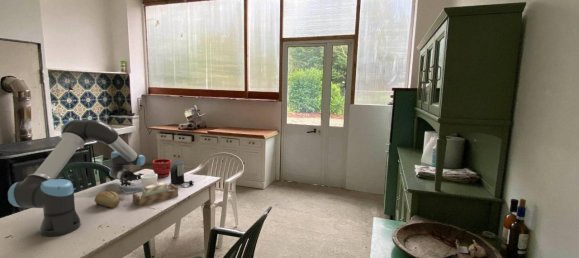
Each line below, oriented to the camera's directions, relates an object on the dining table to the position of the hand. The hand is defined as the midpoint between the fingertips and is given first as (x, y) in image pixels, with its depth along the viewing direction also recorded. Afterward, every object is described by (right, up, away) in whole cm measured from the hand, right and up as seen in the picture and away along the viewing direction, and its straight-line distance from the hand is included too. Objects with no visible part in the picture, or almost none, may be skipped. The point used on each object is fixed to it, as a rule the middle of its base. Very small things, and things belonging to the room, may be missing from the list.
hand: (144, 182), depth 184 cm
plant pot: (-5, -2, +37) cm, 37 cm away
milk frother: (+17, -5, +20) cm, 27 cm away
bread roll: (-12, -10, -18) cm, 24 cm away
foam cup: (+5, -8, -3) cm, 10 cm away
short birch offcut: (+12, -3, -10) cm, 15 cm away
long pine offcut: (+12, -7, -9) cm, 16 cm away
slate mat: (-10, -6, +9) cm, 15 cm away
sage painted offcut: (+12, -5, -9) cm, 16 cm away
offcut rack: (+12, -9, -9) cm, 17 cm away
